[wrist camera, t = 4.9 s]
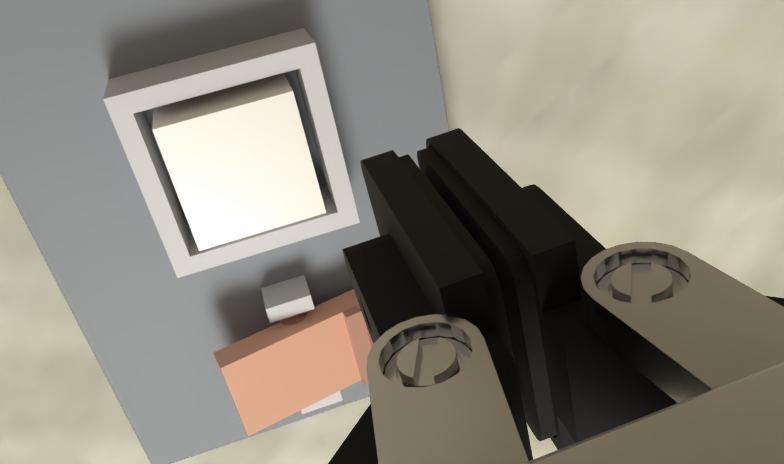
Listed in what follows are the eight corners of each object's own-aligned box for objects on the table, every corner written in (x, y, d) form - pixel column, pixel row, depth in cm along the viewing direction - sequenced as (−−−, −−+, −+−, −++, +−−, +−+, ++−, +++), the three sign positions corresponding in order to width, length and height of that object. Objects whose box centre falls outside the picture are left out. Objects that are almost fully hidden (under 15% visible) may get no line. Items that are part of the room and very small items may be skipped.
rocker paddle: (379, 342, 29) (401, 368, 27) (236, 411, 27) (251, 443, 25) (362, 276, 27) (384, 299, 25) (209, 345, 25) (223, 374, 24)
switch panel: (465, 323, 32) (504, 387, 29) (155, 425, 31) (153, 508, 27) (347, -343, 20) (388, -388, 17) (-177, -241, 18) (-268, -265, 15)
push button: (313, 182, 24) (326, 212, 22) (196, 216, 24) (199, 250, 22) (281, 68, 22) (293, 90, 20) (154, 103, 22) (152, 129, 20)
